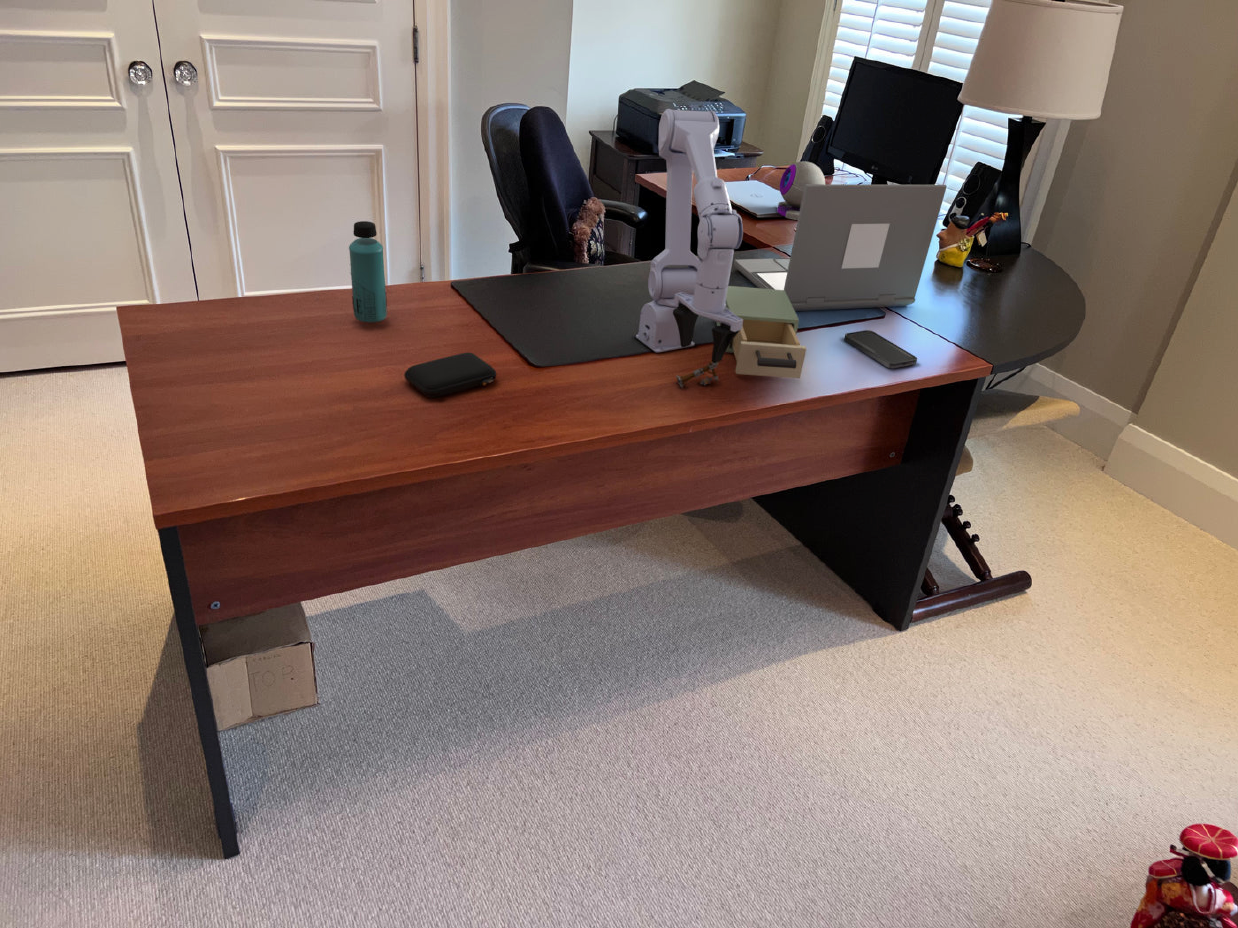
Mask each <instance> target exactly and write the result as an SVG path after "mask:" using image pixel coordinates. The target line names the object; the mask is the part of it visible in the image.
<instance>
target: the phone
mask: <svg viewBox="0 0 1238 928" xmlns="http://www.w3.org/2000/svg"><path fill="white" fill-rule="evenodd" d="M843 341H845V342H846V343H848V344H849V345H851V346H852V347H854V348H855V349H856V350H858V351H860V352H862V353H864V354H865V355H866V356H868V357H870V358H871V359H873V360H875V361H876V362H878V363H879V364H881V365H883V366H884V367H886V368H888V369H892V370H893V369H900V368H905V367H911V366H915V365H916V364H917V361H918V357H917V356H915V355H914V354H912V353H911V352H909V351H907V350H905V349H904V348H902V347H900V346H899V345H897V344H896V343H893V342H892V341H890V340H889V339H887V338H885V337H884V336H882V335H880V334H879V333H877V332H875V331H873V330H870V329H864V330H858V331H853V332H846V333H844V337H843Z"/></svg>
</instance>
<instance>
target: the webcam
mask: <svg viewBox="0 0 1238 928" xmlns="http://www.w3.org/2000/svg"><path fill="white" fill-rule="evenodd" d="M805 184H826V179H825V175H824V173H823V171H822V169H821V168H820V167H819V166H817V165H816V164H815V163H813V162H810V161H804V160H803V161H797V162H795V163H792V164H790V165H789V166H787V168H786V169H785V170H784V172H783V173H782V175H781V178H780V181H779V193H780V195H781V197H782V199H783V200H784V201H779V202H778V204H777V210H776V211H777V213H778V214H779V215H781V216H782V217H785V218H786V219H790V220H795V221H798V217H799V212H800V207H801V203H802V198H803V193H804V188H805Z"/></svg>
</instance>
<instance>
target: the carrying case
mask: <svg viewBox="0 0 1238 928" xmlns="http://www.w3.org/2000/svg"><path fill="white" fill-rule="evenodd" d="M403 375H404V376H403V377H404V380H406V381H407V382H409V384H411V385H412V386H414V388H416V389H417V390H418V391H419V392H420V393H421V394H423V395H424V396H426V397H427V398H431V399H435V398H439V397H444V396H447V395H451V394H455V393H459V392H463V391H466V390H469V389H474V388H476V387H483V388H484V387H485V386H487V385H489V384H491V383H493V382H494V381H495V379H496V378H497V375H498V374H497V371H496V370H495V368H494V367H493V366H492V365H490V364H488V363H487V362H486V361H485V360H483V359H482V358H481V357H479V356H478V355H476V354H475V353H473V352H463V353H458V354H454V355H450V356H449V355H448V356H445V357H442V358H438V359H433V360H429V361H426V362H422V363H418V364H414V365H411V366H410V367H408V368H407V369H406V371H404V374H403Z"/></svg>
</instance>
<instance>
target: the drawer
mask: <svg viewBox="0 0 1238 928" xmlns="http://www.w3.org/2000/svg"><path fill="white" fill-rule="evenodd" d="M731 345H732V348H733V351H734V353H733V354H734V357H735V361H736V365H735V370H734V371H735V374H736V375H747V376H761V377H776V378H787V379H789V378H790V379H801V376H802V371H803V367H804V362H805V358H806V355H807V354H806V353H807V346H806V345H801V342H800V340H799V338H798V336H797V333H796V334H795V331H794V329H793V327H792V325H791V323H783V322H769V321H756V320H743V324H742V329H741V330H740V331H739V332H738V333H737V335H736V336H735V337H734V338H733V340H732V341H731Z"/></svg>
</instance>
